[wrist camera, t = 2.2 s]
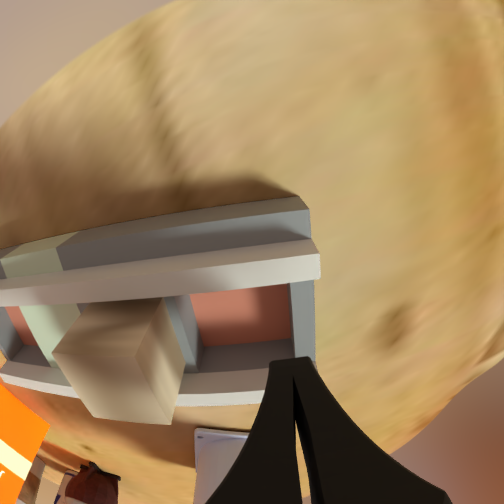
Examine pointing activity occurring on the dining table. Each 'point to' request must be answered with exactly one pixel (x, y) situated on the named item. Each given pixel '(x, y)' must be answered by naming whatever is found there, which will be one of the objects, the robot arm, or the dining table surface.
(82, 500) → the mate gourd
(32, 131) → the dining table surface
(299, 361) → the robot arm
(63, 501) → the energy drink
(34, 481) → the coffee cup
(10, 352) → the track
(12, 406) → the orange juice
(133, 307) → the block
